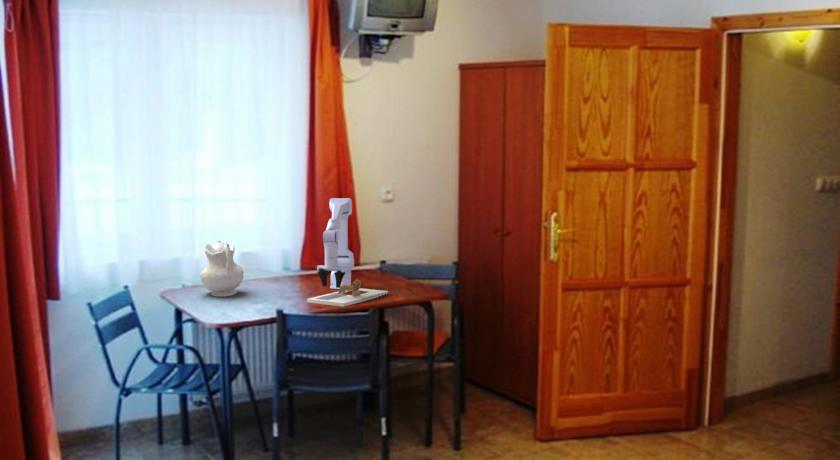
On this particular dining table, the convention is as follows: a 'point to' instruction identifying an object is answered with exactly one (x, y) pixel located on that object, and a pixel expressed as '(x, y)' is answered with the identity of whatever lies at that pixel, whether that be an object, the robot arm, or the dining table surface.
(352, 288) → the lion figurine
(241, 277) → the ceramic pitcher
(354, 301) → the puzzle board
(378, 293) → the shutter
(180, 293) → the dining table surface
